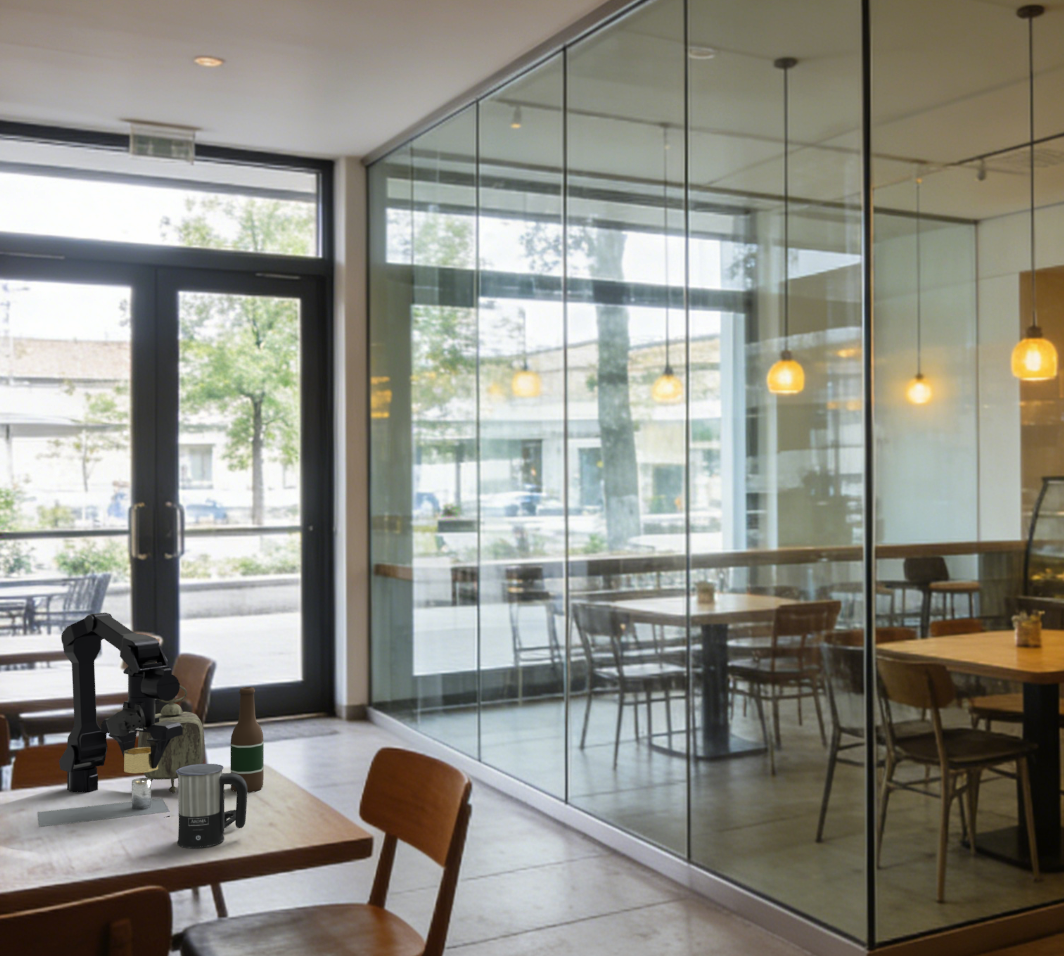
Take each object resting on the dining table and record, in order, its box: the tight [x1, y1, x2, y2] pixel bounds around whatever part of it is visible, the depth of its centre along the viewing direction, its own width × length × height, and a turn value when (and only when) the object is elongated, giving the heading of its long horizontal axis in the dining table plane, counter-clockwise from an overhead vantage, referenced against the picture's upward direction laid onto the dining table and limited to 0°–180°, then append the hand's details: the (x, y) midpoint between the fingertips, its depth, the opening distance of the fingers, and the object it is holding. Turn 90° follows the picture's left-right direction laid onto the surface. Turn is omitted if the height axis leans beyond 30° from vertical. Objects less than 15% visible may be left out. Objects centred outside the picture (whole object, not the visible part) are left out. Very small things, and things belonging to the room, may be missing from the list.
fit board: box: [37, 777, 171, 828], centre depth 244 cm, size 26×12×7 cm, turn 115°
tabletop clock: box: [137, 685, 206, 794], centre depth 265 cm, size 14×9×25 cm, turn 114°
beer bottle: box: [230, 686, 265, 793], centre depth 267 cm, size 8×8×24 cm
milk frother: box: [176, 763, 248, 849], centre depth 230 cm, size 14×16×15 cm
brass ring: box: [123, 747, 158, 774], centre depth 247 cm, size 7×7×4 cm
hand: (141, 766), depth 247 cm, fingers closed on brass ring, 7 cm apart
